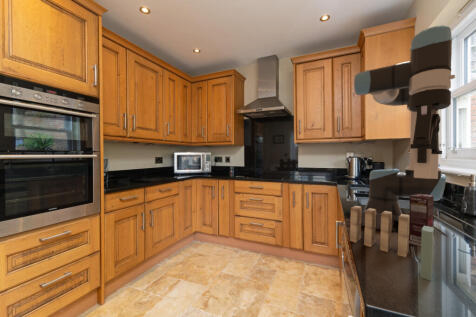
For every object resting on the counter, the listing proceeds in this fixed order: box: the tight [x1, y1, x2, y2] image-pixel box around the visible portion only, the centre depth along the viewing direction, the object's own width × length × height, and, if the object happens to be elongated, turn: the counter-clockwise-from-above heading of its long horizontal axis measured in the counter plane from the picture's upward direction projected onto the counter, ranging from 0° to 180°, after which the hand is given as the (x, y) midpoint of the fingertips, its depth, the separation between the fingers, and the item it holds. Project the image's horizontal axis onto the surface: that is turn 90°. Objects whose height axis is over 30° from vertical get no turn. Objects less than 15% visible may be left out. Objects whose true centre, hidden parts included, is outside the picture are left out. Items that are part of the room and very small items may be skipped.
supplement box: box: [408, 194, 434, 247], centre depth 67 cm, size 9×5×16 cm, turn 126°
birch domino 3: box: [379, 211, 393, 253], centre depth 61 cm, size 5×2×11 cm, turn 133°
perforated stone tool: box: [349, 210, 395, 230], centre depth 80 cm, size 15×5×7 cm, turn 58°
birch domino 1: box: [349, 205, 362, 243], centre depth 68 cm, size 5×2×11 cm, turn 133°
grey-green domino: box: [419, 226, 435, 281], centre depth 47 cm, size 5×2×11 cm, turn 133°
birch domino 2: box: [363, 208, 377, 248], centre depth 64 cm, size 5×2×11 cm, turn 133°
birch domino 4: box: [397, 213, 410, 258], centre depth 58 cm, size 5×2×11 cm, turn 133°
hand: (426, 178), depth 49 cm, fingers open, 13 cm apart
